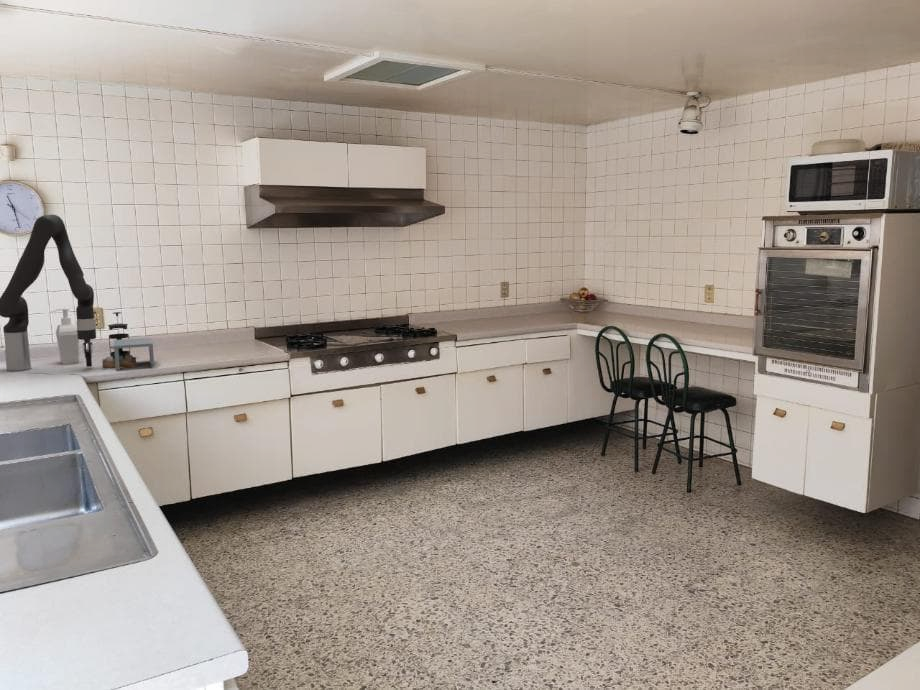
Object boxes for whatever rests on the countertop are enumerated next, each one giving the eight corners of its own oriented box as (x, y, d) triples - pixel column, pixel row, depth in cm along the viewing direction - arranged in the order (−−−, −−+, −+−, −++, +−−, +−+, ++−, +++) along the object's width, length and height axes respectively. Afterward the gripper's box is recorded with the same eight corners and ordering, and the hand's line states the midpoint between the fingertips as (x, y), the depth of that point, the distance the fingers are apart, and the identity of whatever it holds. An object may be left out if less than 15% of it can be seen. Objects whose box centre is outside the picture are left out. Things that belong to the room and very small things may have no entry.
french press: (130, 360, 357) (127, 312, 353) (109, 361, 353) (105, 313, 349) (131, 356, 367) (127, 310, 364) (110, 357, 364) (107, 311, 360)
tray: (136, 364, 345) (135, 354, 344) (136, 366, 340) (135, 356, 339) (103, 366, 339) (102, 356, 339) (102, 369, 334) (102, 358, 333)
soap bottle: (54, 361, 353) (49, 308, 349) (77, 359, 359) (73, 307, 355) (57, 365, 343) (52, 310, 339) (81, 363, 349) (76, 309, 344)
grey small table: (115, 370, 330) (113, 346, 328) (116, 363, 348) (114, 340, 346) (154, 367, 336) (152, 343, 335) (152, 360, 354) (150, 337, 352)
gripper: (95, 329, 327) (98, 368, 330) (95, 326, 339) (98, 363, 342) (76, 330, 324) (79, 369, 327) (77, 327, 336) (80, 364, 339)
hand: (89, 366), depth 334 cm, fingers closed
